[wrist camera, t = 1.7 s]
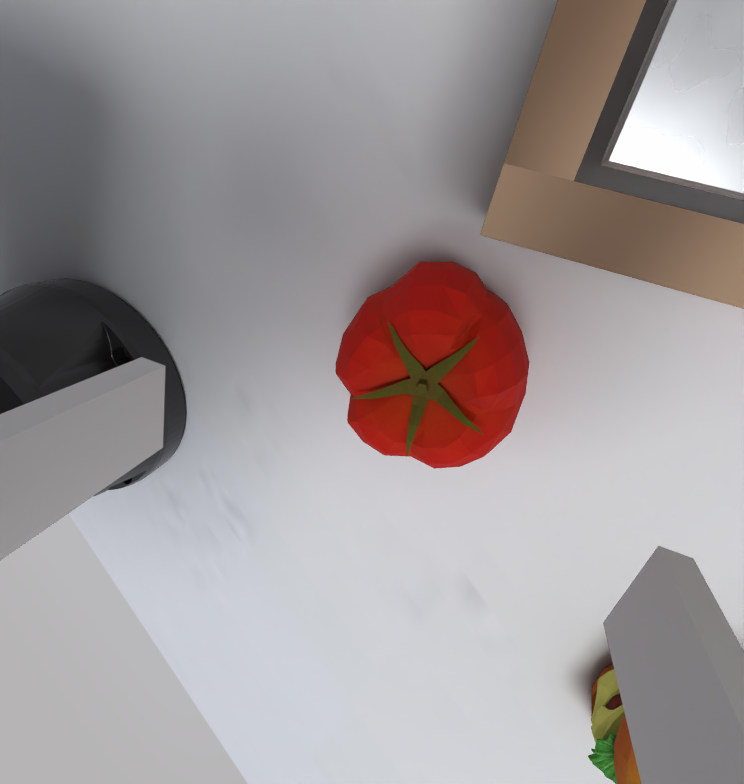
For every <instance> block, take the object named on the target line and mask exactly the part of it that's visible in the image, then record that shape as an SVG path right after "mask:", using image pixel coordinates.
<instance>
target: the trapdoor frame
mask: <svg viewBox="0 0 744 784" xmlns="http://www.w3.org/2000/svg"><path fill="white" fill-rule="evenodd" d="M645 2H646V0H558V2H557V5H556V8H555V11H554V14H553V17H552V20H551V23H550V26H549V29H548V32H547V35H546V38H545V41H544V44H543V47H542V50H541V53H540V56H539V59H538V62H537V65H536V68H535V71H534V74H533V77H532V80H531V83H530V86H529V89H528V92H527V95H526V98H525V101H524V104H523V107H522V110H521V113H520V116H519V119H518V122H517V125H516V128H515V131H514V134H513V137H512V140H511V143H510V146H509V149H508V152H507V155H506V158H505V161H504V164H503V167H502V170H501V173H500V176H499V179H498V182H497V185H496V188H495V191H494V194H493V197H492V200H491V203H490V206H489V209H488V212H487V215H486V218H485V221H484V224H483V227H482V230H481V233H480V235H482V236H486V237H489V238H493V239H496V240H500V241H503V242H507V243H511V244H514V245H518V246H521V247H525V248H528V249H532V250H536V251H539V252H543V253H546V254H550V255H554V256H557V257H561V258H564V259H568V260H571V261H575V262H579V263H582V264H586V265H589V266H593V267H596V268H600V269H604V270H607V271H611V272H614V273H618V274H622V275H625V276H629V277H632V278H636V279H639V280H643V281H647V282H650V283H654V284H657V285H661V286H664V287H668V288H672V289H675V290H679V291H682V292H686V293H690V294H693V295H697V296H700V297H704V298H707V299H711V300H715V301H718V302H722V303H725V304H729V305H732V306H736V307H740V308H743V309H744V224H742V223H738V222H734V221H730V220H726V219H722V218H718V217H714V216H710V215H707V214H703V213H699V212H695V211H691V210H687V209H683V208H679V207H675V206H671V205H667V204H663V203H659V202H655V201H651V200H647V199H643V198H639V197H635V196H631V195H627V194H623V193H619V192H615V191H611V190H607V189H604V188H600V187H596V186H592V185H588V184H584V183H580V182H576V181H574V179H575V177H576V174H577V172H578V169H579V167H580V164H581V162H582V159H583V157H584V154H585V152H586V149H587V147H588V144H589V142H590V139H591V137H592V134H593V132H594V129H595V127H596V124H597V122H598V119H599V117H600V114H601V112H602V109H603V107H604V104H605V102H606V100H607V97H608V95H609V92H610V90H611V87H612V85H613V82H614V80H615V77H616V75H617V72H618V70H619V67H620V65H621V62H622V60H623V57H624V55H625V52H626V50H627V47H628V45H629V42H630V40H631V37H632V35H633V32H634V30H635V27H636V25H637V22H638V20H639V17H640V15H641V12H642V10H643V7H644V5H645Z"/></svg>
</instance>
